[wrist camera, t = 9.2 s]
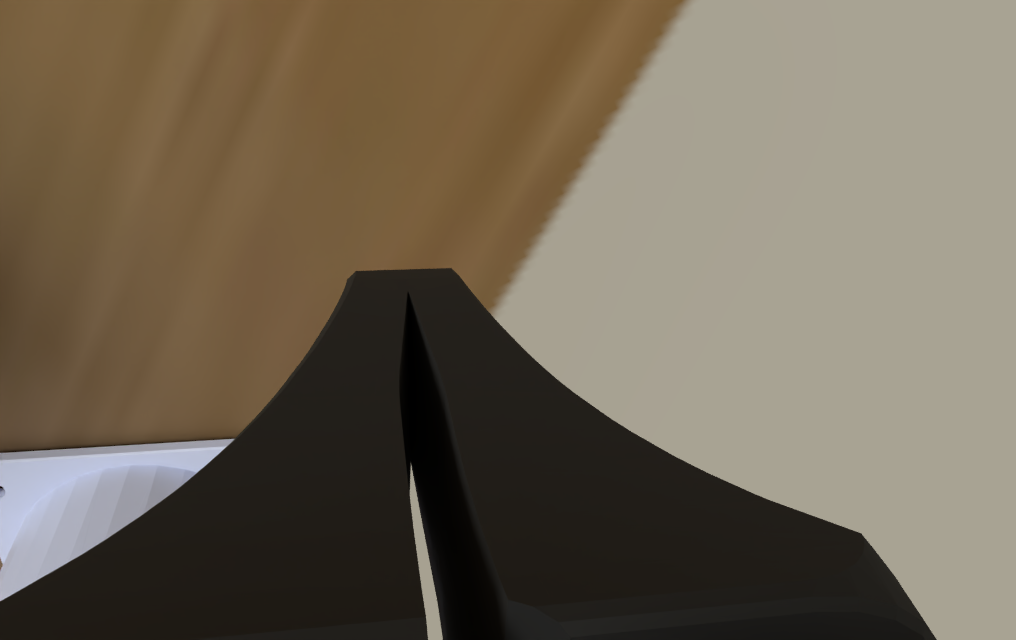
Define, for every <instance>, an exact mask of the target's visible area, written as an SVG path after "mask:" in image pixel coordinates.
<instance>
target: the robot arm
mask: <svg viewBox="0 0 1016 640" xmlns="http://www.w3.org/2000/svg"><path fill="white" fill-rule="evenodd" d="M411 465H412V470H413V476H414V481H415V486H416V492H417V497H418V502H419V507H420V513H421V518H422V523H423V529H424V534H425V539H426V544H427V549H428V555H429V560H430V565H431V570H432V575H433V581H434V585H435V591H436V596H437V601H438V608H439V615H440V621H441V628H442V635H443V640H936V638H935V637H934V635H933V634H932V632H931V630H930V629H929V627H928V626H927V624H926V623H925V621H924V620H923V618H922V617H921V615H920V614H919V612H918V611H917V609H916V608H915V606H914V605H913V603H912V602H911V600H910V599H909V597H908V596H907V594H906V593H905V591H904V590H903V588H902V587H901V585H900V584H899V582H898V580H897V579H896V577H895V576H894V575H893V574H892V572H891V571H890V570H889V568H888V567H887V566H886V564H885V563H884V562H883V560H882V559H881V558H880V557H879V555H878V554H877V553H876V551H875V550H874V549H873V548H872V546H871V545H870V544H869V543H868V541H867V540H866V539H865V538H864V537H863V535H862V534H861V533H858V532H855V531H853V530H850V529H847V528H844V527H842V526H839V525H836V524H833V523H831V522H828V521H825V520H823V519H820V518H817V517H814V516H811V515H809V514H806V513H803V512H800V511H797V510H794V509H792V508H789V507H787V506H784V505H781V504H778V503H775V502H773V501H770V500H767V499H765V498H763V497H760V496H758V495H755V494H753V493H751V492H749V491H746V490H744V489H742V488H740V487H738V486H735V485H733V484H731V483H728V482H726V481H724V480H722V479H720V478H718V477H715V476H713V475H711V474H708V473H706V472H705V471H703V470H700V469H698V468H696V467H694V466H692V465H691V464H688V463H687V462H685V461H683V460H681V459H678V458H676V457H675V456H673V455H671V454H669V453H668V452H666V451H664V450H662V449H661V448H659V447H657V446H655V445H654V444H652V443H650V442H648V441H647V440H645V439H643V438H641V437H639V436H638V435H636V434H634V433H632V432H631V431H629V430H628V429H626V428H625V427H623V426H621V425H620V424H618V423H617V422H615V421H613V420H612V419H610V418H609V417H607V416H606V415H604V414H603V413H602V412H600V411H599V410H598V409H596V408H595V407H593V406H592V405H590V404H589V403H588V402H586V401H585V400H583V399H582V398H580V397H579V396H578V395H576V394H575V393H573V392H572V391H571V390H570V389H568V388H567V387H566V386H565V385H563V384H562V383H561V382H560V381H558V380H557V379H556V378H555V377H554V376H552V375H551V374H550V373H549V372H548V371H547V370H545V369H544V368H543V367H542V366H541V365H540V364H539V363H538V362H537V361H535V359H533V358H532V357H531V356H530V355H529V354H528V353H527V352H526V351H525V350H524V349H523V348H522V347H521V346H520V345H519V344H518V343H517V342H516V341H515V340H514V339H513V338H512V337H511V336H510V335H509V334H508V333H507V332H506V330H505V329H504V328H503V327H502V326H501V325H500V324H499V323H498V322H497V321H496V320H495V319H494V318H493V316H492V315H491V314H490V313H489V312H488V311H487V310H486V308H485V307H484V306H483V305H482V304H481V303H480V301H479V300H478V299H477V298H476V297H475V295H474V294H473V293H472V292H471V290H470V289H469V288H468V287H467V285H466V284H465V283H464V282H463V280H462V279H461V278H460V276H459V275H458V274H457V273H456V272H455V271H453V270H452V269H451V268H442V269H410V270H377V271H356V272H355V273H354V274H353V275H352V276H351V277H350V278H348V279H347V283H346V286H345V289H344V291H343V293H342V295H341V298H340V300H339V302H338V304H337V306H336V307H335V309H334V311H333V313H332V315H331V316H330V318H329V320H328V322H327V323H326V325H325V327H324V328H323V330H322V331H321V333H320V334H319V336H318V337H317V339H316V341H315V342H314V344H313V345H312V347H311V348H310V350H309V351H308V353H307V354H306V356H305V357H304V359H303V360H302V361H301V363H300V364H299V365H298V366H297V368H296V369H295V370H294V372H293V373H292V374H291V376H290V377H289V378H288V379H287V381H286V382H285V383H284V385H283V386H282V387H281V389H280V390H279V391H278V392H277V394H276V395H275V396H274V397H273V398H272V400H271V401H270V402H269V403H268V404H267V405H266V406H265V408H264V409H263V410H262V411H261V412H260V413H259V414H258V415H257V416H256V417H255V419H254V420H253V421H252V422H251V423H250V424H249V425H248V426H247V427H246V428H245V429H244V430H243V431H242V432H241V433H240V434H239V435H238V436H237V437H236V438H235V439H223V440H207V441H190V442H174V443H157V444H141V445H124V446H108V447H91V448H75V449H59V450H42V451H26V452H9V453H0V486H1V487H3V489H2V488H0V558H1V561H2V563H3V566H2V569H1V571H0V640H428V636H427V624H426V615H425V608H424V601H423V595H422V589H421V581H420V574H419V567H418V559H417V552H416V544H415V538H414V529H413V521H412V513H411V504H410V467H411Z"/></svg>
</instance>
